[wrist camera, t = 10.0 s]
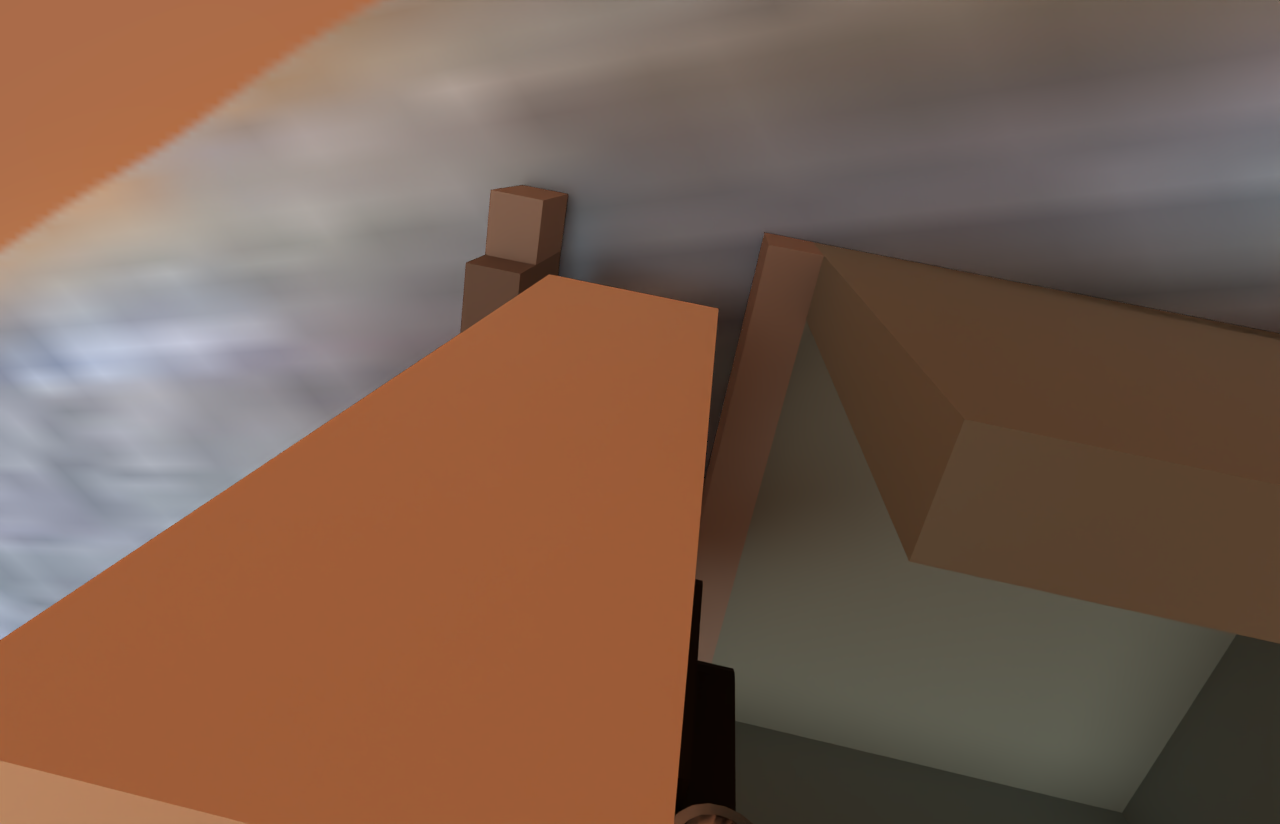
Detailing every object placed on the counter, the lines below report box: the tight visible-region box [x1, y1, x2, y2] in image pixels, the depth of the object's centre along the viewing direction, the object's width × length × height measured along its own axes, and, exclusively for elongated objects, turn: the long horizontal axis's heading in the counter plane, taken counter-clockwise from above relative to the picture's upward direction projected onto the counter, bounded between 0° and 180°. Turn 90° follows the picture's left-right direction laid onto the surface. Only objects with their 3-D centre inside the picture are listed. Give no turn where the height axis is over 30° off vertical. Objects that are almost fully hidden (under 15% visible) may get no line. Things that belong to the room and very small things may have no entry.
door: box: [0, 274, 718, 824], centre depth 9 cm, size 4×11×10 cm, turn 170°
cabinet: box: [461, 185, 1280, 824], centre depth 12 cm, size 18×13×10 cm
